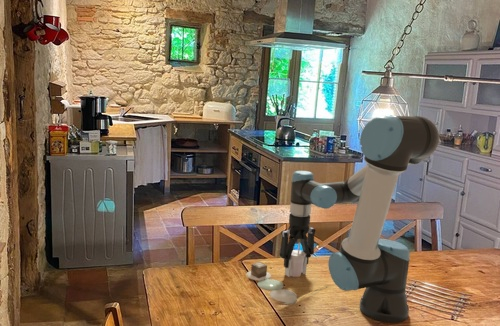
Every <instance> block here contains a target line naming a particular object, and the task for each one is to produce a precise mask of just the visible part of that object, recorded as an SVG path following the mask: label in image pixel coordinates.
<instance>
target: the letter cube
mask: <svg viewBox="0 0 500 326" xmlns="http://www.w3.org/2000/svg"><path fill="white" fill-rule="evenodd" d="M250 266H251V268H250V269H251V270H250V271H251V275H253V276H255V277H257V278H261V277H264V276H266V275H267V272H268V265H267V264H266V263H263V262H261V261H258V262H253V263H252V264H251V265H250Z"/></svg>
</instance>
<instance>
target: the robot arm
mask: <svg viewBox="0 0 500 326" xmlns="http://www.w3.org/2000/svg"><path fill="white" fill-rule="evenodd" d="M359 137H360V138H359V144H360V146H361V147H360V150H361V152H362V155H364V158H363V159H364V162H365V164H366V165H364V167H362V168H360V169H359V170H358V171H356V172H355V173H354V174H352V175H351V176H349V178H347V179H346V180H344V181H334V182H318V181H316V180H315V179H314V177H315V176H314V175H315V174H314V173H313V172H311V171H308V170H296V171H294V172H293V173H292V176H291V177H292V179H291V182H290V183H291V188H290V189H291V190H290V202H289V203H290V204H289V215H288V216H289V218H288V224H289V225H288V226H289V227H288V228H287V230H285V231H284V230H281V232H280V234H281V240H280V241H281V243H280V249H279V257H280V258H281V259H283V267H284V275H285V276H286V277H288V278H291V277H292V276H291V263H292V260H291V259H290V257H291V254H292V251H293V250H294V248H295V246H296V245H295V244H296V243H297V242H298V240H300V245H301V249H302V250H301V251H303V252H305V253H306V255H305V258H304V262H303V267H302V272H301V274H303V275H306V274H307V268H308V266H307V265H308V264H309V259H310V258H311V257H312V255H314V252H315V233H316V231H317V230H316V229H315V228H314V227H311V226H310V224H311V212H312V205H314V206H315V207H317V208H321V209H324V210H327V209H330V208H332V207H333V206H334V205H338V204H339V205H340V204H341V205H342V204H355V203H357V206H356V210H355V212H354V216H353V220H352V224H351V228H350V231H349V235H348V237H346V238H343V240H342V241H341V244H340V248H339V251H335V252H333V253H331V254H330V256H329V257H328V263H327V265H328V271H329V274H330V277H331V279H332V280H333V281H332V282H333V283H334V284H335V286H336V287H338V288H339V289H340V290H342V291H344V292H349V291H358V290H361V289H365V290H364V292H363V294H362V296H361V297H360V300H359V310H360V311H361V312H362V313H363V314H364V315H365V316H367V317H368V318H371V319H373V320H376V321H379V322H383V323H389V324H390V323H394V324H395V323H402V322H404V321H406V320H407V319H408V318H409V314H410V313H409V312H410V311H409V310H410V307H409V304H408V299H407V294H406V289H407V288H406V287H407V281H408V273H409V272H408V271H409V265H410V261H411V260H410V255H411V254H410V253H411V252H410V249H409V247H407V246H406V245H404V244H403V243H401V242H398V241H394V240H391V239H385V238H381V236H382V232H383V228H384V225H385V223H386V219H387V216H388V213H389V209H390V207H391V206H390V205H391V202H392V200H393V196H394V192H395V188H396V185H397V182H398V180H399V176H400V174H402V173H405V172H406V171H407V169H408V167H409V166H410V165H413V166H414V165H418V164H420V163H421V162H423V161H425V160H426V159H427V158H428V157H430V156H431V155H433V153H434V152H435V151H436V150H437V148H438V146H439V142H440V134H439V130H438V127H437V126H436V124H435V123H434V122H433V121H432V120H430V119H428V118H426V117H424V116H421V115H420V116H419V115H412V116H411V115H391V114H390V115H389V114H388V115H382V116H381V115H380V116H376V117H373V118H372V119H370V120H369V121H368V122H366V124H365V125H364V126H363V129H362V131H361V133H360V136H359Z"/></svg>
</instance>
